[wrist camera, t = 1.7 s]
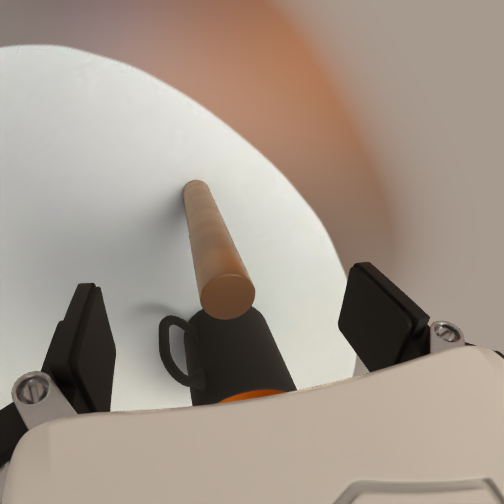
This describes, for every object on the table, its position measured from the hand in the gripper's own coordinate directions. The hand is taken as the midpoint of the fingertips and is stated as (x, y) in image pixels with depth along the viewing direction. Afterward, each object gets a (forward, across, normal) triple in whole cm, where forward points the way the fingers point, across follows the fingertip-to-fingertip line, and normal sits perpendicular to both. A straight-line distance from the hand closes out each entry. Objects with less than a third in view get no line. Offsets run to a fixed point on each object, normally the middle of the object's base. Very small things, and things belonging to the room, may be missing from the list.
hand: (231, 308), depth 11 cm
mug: (+15, -1, +12) cm, 19 cm away
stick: (+14, 0, 0) cm, 14 cm away
